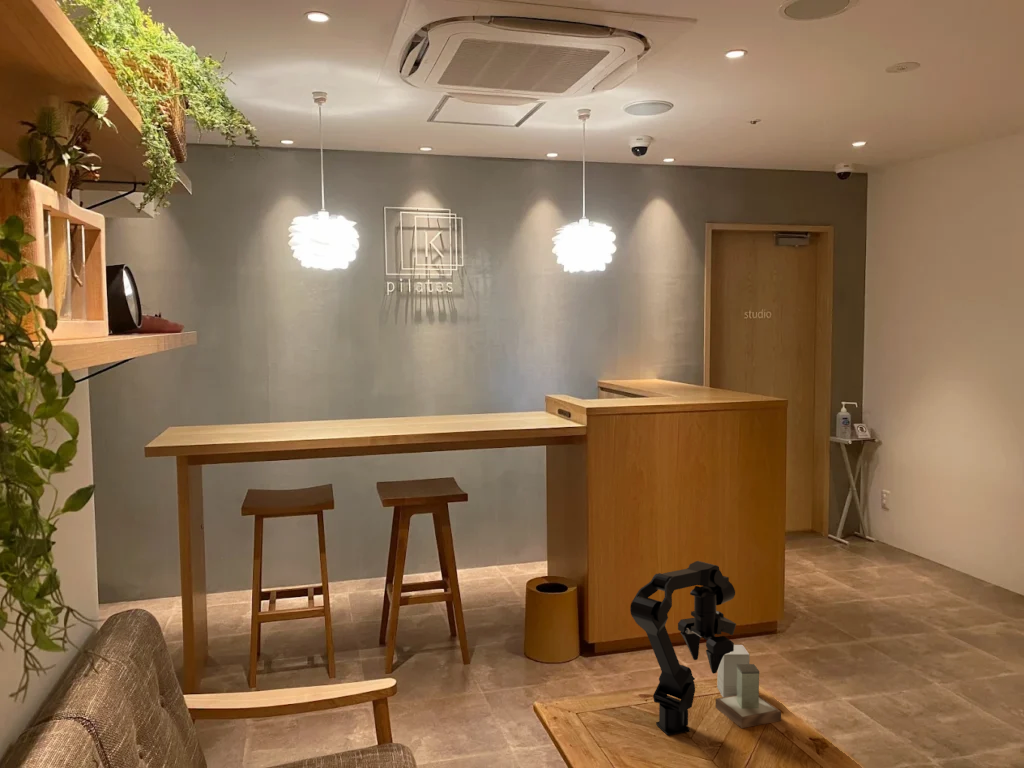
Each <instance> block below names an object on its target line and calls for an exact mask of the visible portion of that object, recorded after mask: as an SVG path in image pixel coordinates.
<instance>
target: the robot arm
mask: <svg viewBox="0 0 1024 768" xmlns="http://www.w3.org/2000/svg"><path fill="white" fill-rule="evenodd" d="M729 580H730V577H729V576H724V575H723V573H722V571H721V570H720V566H719V565H716V564H712V563H708V562H704V561H699V560H696V561H694V562H692V563H689V564H688V567H687V568H684V569H679V570H674V571H668V572H662V573H660V572H658V573H655V574H654V575H653V577H652V579H651V580H650V581H649V582H648V583H647V584H645V585H644V586H642V587H640V589H638V591H637V593H636V594H635V596H634V597H633V599H632V601H631V603H630V606H629V608H630V609H629V610H630V615H631V617H632V619H633V620H634V621H635V623H636V624H637V626H639V627H640V628H641V629H642V630H643V631H644V632H645V634H646V635H647V638H648V641H649V643H650V646H651V648H652V651H653V654H654V655H655V659H656V661H657V664H658V665H659V668H660V671H661V672H660V675H659V678H658V680H659V682H658V684H657V686H656V688H655V691H654V693H653V695H652V697H653V701H654V703H656V704H659V705H658V707H659V708H658V709H659V712H658V713H659V715H658V716H659V717H658V721H656V723H655V725H657V727H658V728H659V729H661V731H663V732H664V733H665V734H666V735H667V736H672V735H677V734H682V733H688V732H690V731H691V729H690V727H688V726H689V710H690V709H691V708H692V707H693V703H694V699H695V698H694V697H695V692H696V685H695V681H694V680H695V679H696V678H695V677H694V676H693V672H692V669H691V668H690V667H688V666H686V665H683V664H680V662H679V658H678V656H677V653H676V651H675V648H674V646H673V644H672V641H671V638H670V635H669V633H668V630H667V627H666V624H667V622H668V619H669V616H668V614H669V612H670V611H671V608H672V606H673V594H674V592H675V591H676V590H681V589H685V588H690V587H694V588H692V589H691V591H690V593H689V594H690V596H693V597H694V598H693V599H694V603H693V605H694V607H693V608H694V610H693V611H690V615H691V616H692V617H690V618H682V619H680V620H679V621H678V622H677V630H678V631H679V632H680V633H679V634H680V635H681V636H682V639H684V643H686V647H687V648H688V651H689V653H690V655H691V657H692V659H693V660H694V661H697V660H698V658H699V654H700V644H701V643H700V642H701V639H704V640H706V641H705V647H706V649H705V652H706V656H707V660H708V663H709V667H710V668H709V669H710V671H711V673H712V674H718V667H719V665H720V662H721V660H722V658H723V656H724V655H725V654H726V653H730V652H733V651H734V645H735V643H734V642H733V641H732V640H731V639H729V638H728V637H726V636H725V635H722V636H721V634H722V633H725V634H729V635H730V636H733V635H734V633H735V630H736V626H737V623H735V621H732V620H730V619H729V618H727V617H726V616H724V613H723V612H721V611H718V610H717V606H720V605H722V604H725V603H727V602H730V601H731V600H733V599H734V597H735V596H736V589H735V586H734V585H733V583H732V582H731V581H729ZM657 591H661V592H664V597H663V599H662V601H661V600H657V599H652V598H650V597H651V596H653V594H655V593H657ZM716 635H719V636H716Z"/></svg>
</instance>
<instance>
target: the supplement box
mask: <svg viewBox="0 0 1024 768" xmlns="http://www.w3.org/2000/svg"><path fill="white" fill-rule="evenodd" d="M750 657H751V656H750V653H749V651H748V650H747V649H746V647H745V646H744V645H743V644H734V651H733V652H730V653H726V654H725V655H724V656H723V658H722V660H721V662H720V665H719V667H718V670H717V677H716V678H717V683H716V684H717V685H716V687H717V690H718V691H719V693H720V695H721V696H722V697H728V696H733V695H737V664H750V660H751V659H750ZM722 697H721V698H722Z"/></svg>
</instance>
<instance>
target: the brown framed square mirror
mask: <svg viewBox="0 0 1024 768" xmlns="http://www.w3.org/2000/svg"><path fill="white" fill-rule="evenodd" d="M715 709H717V711H719V712H721V714H723V715H724V716H726V718H728V719H729V720H730V721H731V722H734V724H735V725H737V726H738V727H739V728H740V729H745V728H750V727H755V726H760V725H764V724H771V723H775V722H781V721H782V710H780V709H779V708H777V707H776V706H774V705H772V704H771V703H770V702H769V701H767V700H766V699H764V698H763V697H762V696H760V695H759V708H745V709H742V708H741V707H740V705H739V704H738V702H737V695H733V696H728V697H718V698H715Z"/></svg>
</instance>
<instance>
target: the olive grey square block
mask: <svg viewBox="0 0 1024 768" xmlns="http://www.w3.org/2000/svg"><path fill="white" fill-rule="evenodd" d="M759 696H760V670H759V668H757V666H756V665H755V663H749V664H737V702H738V704H739V705H740V707H741V708H742V709H745V708H759Z"/></svg>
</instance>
